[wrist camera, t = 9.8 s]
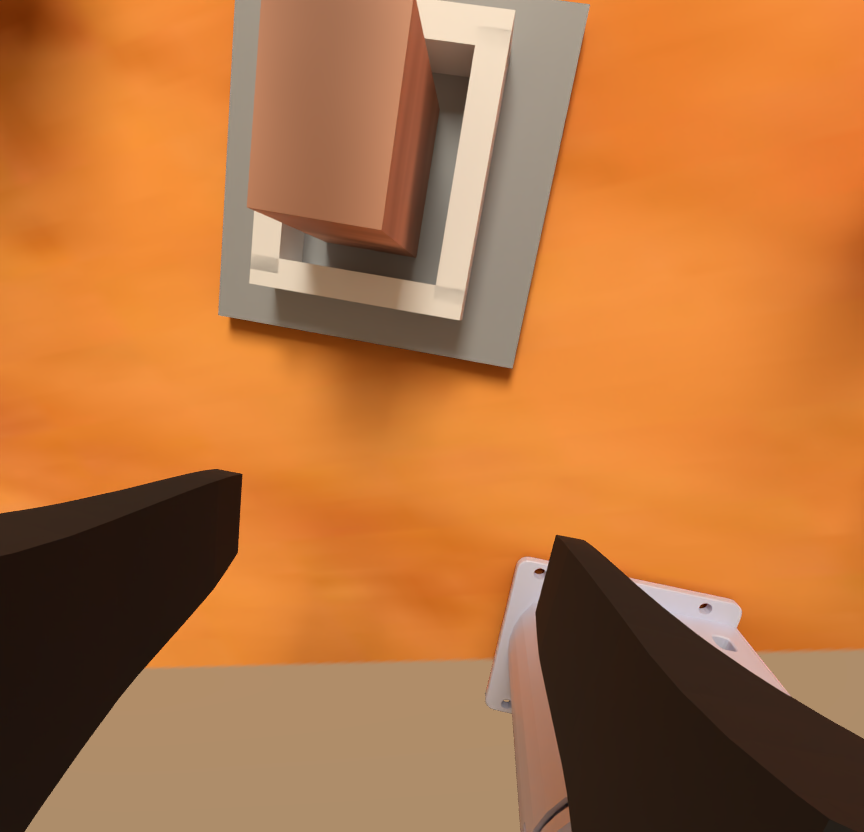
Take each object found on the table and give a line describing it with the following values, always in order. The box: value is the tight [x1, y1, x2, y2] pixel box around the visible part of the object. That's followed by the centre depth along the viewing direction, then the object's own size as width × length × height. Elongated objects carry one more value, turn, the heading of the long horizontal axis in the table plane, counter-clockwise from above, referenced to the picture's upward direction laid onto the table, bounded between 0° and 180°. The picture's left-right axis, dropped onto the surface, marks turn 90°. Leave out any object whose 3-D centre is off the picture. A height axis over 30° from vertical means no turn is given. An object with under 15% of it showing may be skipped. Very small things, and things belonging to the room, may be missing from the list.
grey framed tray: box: [218, 0, 590, 368], centre depth 16 cm, size 12×12×3 cm
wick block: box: [247, 0, 440, 258], centre depth 14 cm, size 4×5×6 cm
